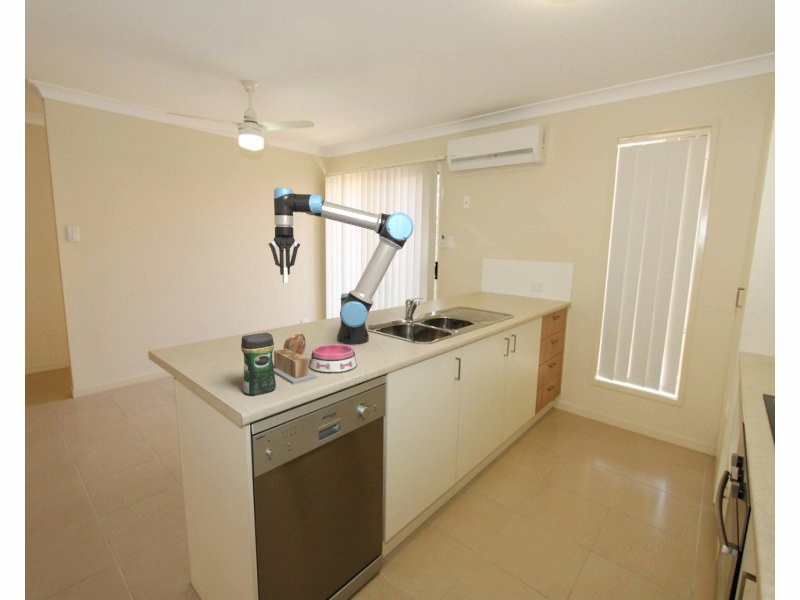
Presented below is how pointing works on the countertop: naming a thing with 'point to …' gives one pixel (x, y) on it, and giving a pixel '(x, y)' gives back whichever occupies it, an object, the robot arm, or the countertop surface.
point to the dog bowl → (333, 359)
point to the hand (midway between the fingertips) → (285, 282)
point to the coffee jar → (258, 363)
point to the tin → (296, 343)
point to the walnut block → (291, 363)
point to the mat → (292, 379)
